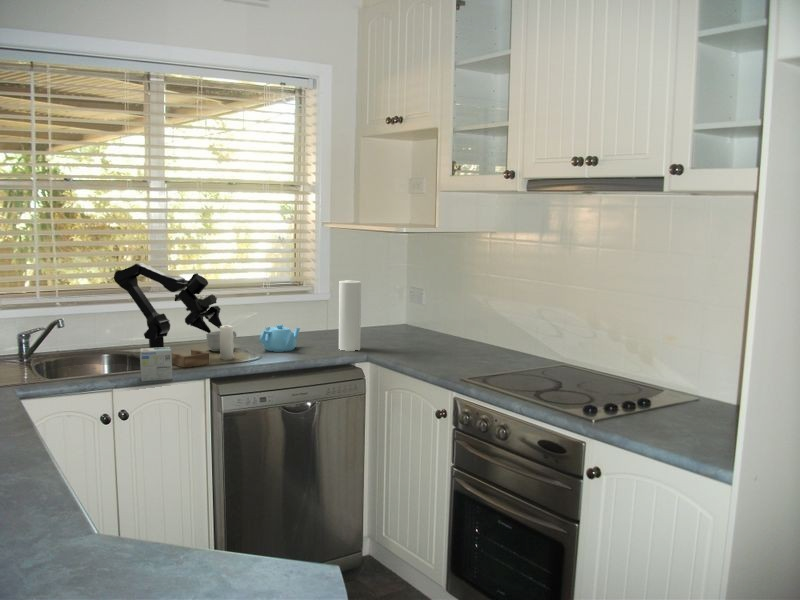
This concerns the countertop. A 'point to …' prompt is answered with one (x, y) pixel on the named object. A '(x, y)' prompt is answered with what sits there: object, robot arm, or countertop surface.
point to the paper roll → (226, 342)
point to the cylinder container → (349, 315)
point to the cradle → (190, 359)
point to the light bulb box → (156, 364)
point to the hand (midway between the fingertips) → (216, 330)
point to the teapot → (279, 338)
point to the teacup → (215, 340)
